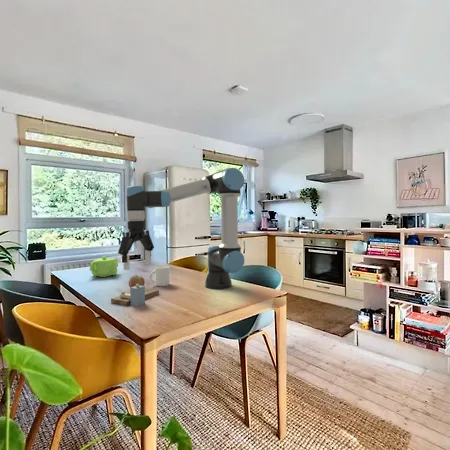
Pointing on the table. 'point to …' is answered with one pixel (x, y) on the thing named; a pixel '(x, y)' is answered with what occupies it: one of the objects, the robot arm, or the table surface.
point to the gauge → (135, 295)
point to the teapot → (104, 267)
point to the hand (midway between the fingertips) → (137, 267)
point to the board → (126, 301)
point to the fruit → (136, 281)
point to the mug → (160, 276)
